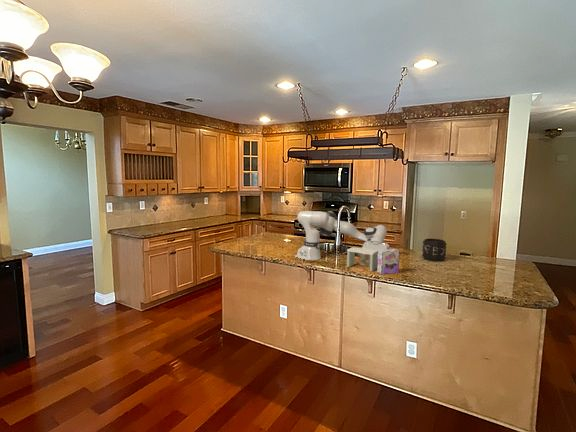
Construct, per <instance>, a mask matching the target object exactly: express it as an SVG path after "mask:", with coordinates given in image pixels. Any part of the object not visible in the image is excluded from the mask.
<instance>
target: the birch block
mask: <svg viewBox="0 0 576 432" xmlns="http://www.w3.org/2000/svg"><path fill="white" fill-rule="evenodd" d="M358 260H359V262H358V265H359V266H364V267H370V255H369V254H363V253H359V259H358Z"/></svg>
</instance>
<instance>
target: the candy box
mask: <svg viewBox="0 0 576 432" xmlns="http://www.w3.org/2000/svg"><path fill="white" fill-rule="evenodd" d="M399 263H400V250H399V249H397V248H391V249H389V248H388V249H386V250H378V257H377V269H376V273H379V274H380V275H388V274H389V275H390V274H398V273H399V268H400V267H399V266H400V264H399Z"/></svg>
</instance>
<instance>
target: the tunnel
mask: <svg viewBox="0 0 576 432" xmlns="http://www.w3.org/2000/svg"><path fill="white" fill-rule="evenodd" d="M346 252H347V257H346V259H347V260H346V267H347V268H350V267H353V266H354V265H355V263H356V253H357V254H362V253H363V254H369V255H370V266H369V272H373V271H375V270H377V266H378V251H376V250H369V249H362V247H354V246H352V247H350V248H347V249H346Z"/></svg>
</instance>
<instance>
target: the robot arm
mask: <svg viewBox="0 0 576 432" xmlns="http://www.w3.org/2000/svg"><path fill="white" fill-rule="evenodd" d="M296 217H297V221H298V223H299V224H301V226H303V228H304V231H305V241H303V245H302V246H301V247H300V248H298V249H297V252H296V253H297V254H294V256H295V257H294V258H296V257H298V258H297V259H300V258H301V259H300V260H303V259H305V261H317V260H321V259H322V256H321V251H320V250H321V249H320V248H321V241H320V240H321V239H320V238H321V237H320V236H321V235H320V234H322V235H323V236H326V237H327V236H331V235H332V233H333V231H335V232H337V220H338V218H339V217H337V214H336V213H335V212H333V211H329V210H327V211H318V210H316V211H315V210H301V211H299V212H298V214H297V216H296ZM339 221H340V233H339V234H342V235H347V236H349V237H351V238H354V239H356V240H358V241H361V242H363V245H362V247H361V248H362V249H369V250H376V251H378V250H386V249H389V248H390V245H389V243H385V242H384V241H385V238H386V236H387V233H388V229H387V227H386V226H385V225H384V224H383V225H382V224H378V225H376V226H367V227H365V228H364V230H363V233H362V232H361V231H359V229H357V228H356V226H355V225H354V224H353V223H351V222H349V221H345V220H339ZM315 227H318V229H317V228H315Z"/></svg>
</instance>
